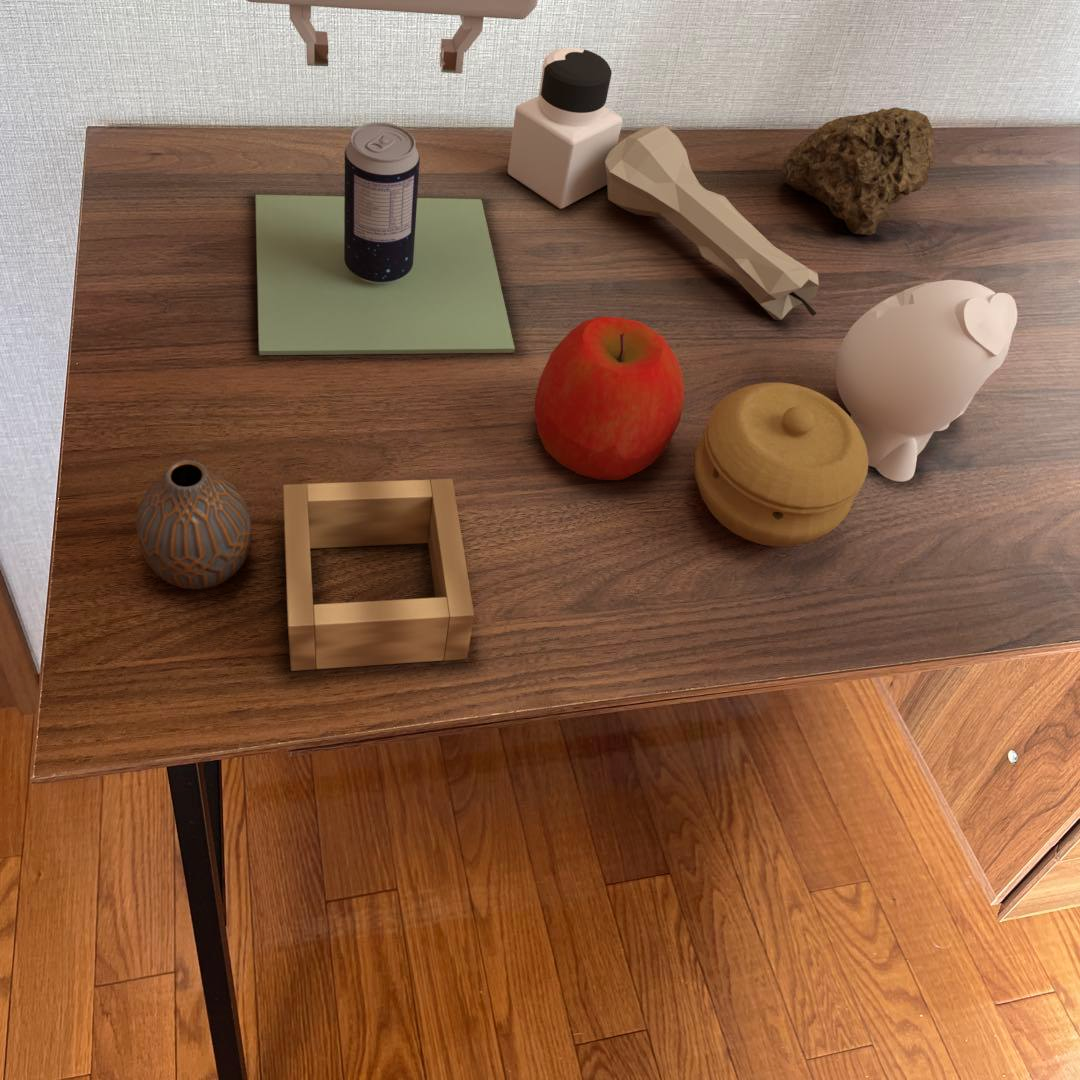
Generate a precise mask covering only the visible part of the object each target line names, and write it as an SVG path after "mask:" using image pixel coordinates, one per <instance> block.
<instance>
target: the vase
mask: <svg viewBox="0 0 1080 1080" xmlns="http://www.w3.org/2000/svg"><path fill="white" fill-rule="evenodd" d="M250 513H251V512H250V510H249V507H248V504H247V503H246V501H245V499H244V497H243V495H242V494H241V492H240V491H239V489H237V487H236V486H235V485H234V484H233V483H232V481H230V480H229V479H228V478H226V477H225V476H223V475H221V474H220V473H218V472H216V471H213V470H211V469H208V468H207V467H206V466H205V465H203V464H202V463H201V462H198V461H196V460H193V459H183V460H178V461H176V462H174V463H172V464H171V465H169V467H168V468H167V469H166V471H165V473H164V474H163V475H162V476H161V477H159V478H157V479H156V480H155V481H154V482H153V483H152V484H151V485H150V486H149V487H148V489H147V490H146V492H145V493H144V495H143V496H142V499H141V501H140V504H139V507H138V510H137V516H136V521H135V522H136V524H135V525H136V527H135V529H136V530H135V531H136V539H137V542H138V545H139V548H140V551H141V553H142V556H143V558H144V560H145V561H146V562H147V564H148V566H149V567H150V568H151V570H152V571H153V572H154V573H155V574H156V575H157V576H158V577H160V578H161V579H163V580H164V581H165V582H167V583H169V584H170V585H172V586H175V587H179V588H183V589H188V590H203V589H209V588H213V587H215V586H218V585H220V584H222V583H224V582H226V581H227V580H228V579H230V578H232V577H233V576H234V575H235V574H236V573H237V572H238V571H239V570H240V568H241V567H242V566H243V564H244V562H245V560H246V559H247V556H248V554H249V551H250V547H251V543H252V532H253V531H252V530H253V527H252V519H251V518H252V517H251V514H250Z"/></svg>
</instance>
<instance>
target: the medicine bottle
mask: <svg viewBox="0 0 1080 1080" xmlns="http://www.w3.org/2000/svg"><path fill="white" fill-rule="evenodd" d="M540 76H541V77H540V84H539V91H538V96H535V97H534V98H530V99H529V100H527V101H523V102H522V103H520V104H518V105H516V107H515V111H514V118H513V119H514V120H513V127H512V129H513V130H512V133H511V141H510V142H511V143H510V149H509V158H508V165H507V174H508V175H509V176H510V177H512V178H513V179H514V180H515V181H518V182H519V183H520V184H522V185H523V186H525V187H526V188H528V189H530V190H531V191H533V192H534V193H535V194H536V195H538V196H540V197H541V198H543V199H545V200H546V201H548V202H549V203H550V204H552V205H553V206H554V207H556V208H558V209H559V210H561V209H565V208H566V207H568V206H570V205H573V204H574V203H576V202H578V201H579V200H581V199H584V198H585V197H587V196H589V195H591V194H593V193H594V192H596V191H598V190H600V189H602V188H604V187H606V186H608V184H607V172H606V166H605V161H606V158H607V156H608V154H609V152H610V151H611V150H612V149H613V148H614V147H615V146H616V145H617V144H618V143H619V138H620V134H621V129H622V125H623V117H622V116H621V115H619V114H617V113H616V112H615V111H612V109H610V108H608V107H606V104H607V98H608V93H609V88H610V85H611V84H610V83H611V78H612V68H611V67H610V65H609V63H608V62H607V60H606V59H605V58H603V57H602V56H600V55H599V54H598V53H595V52H593V51H590V50H587V49H585V48H580V47H562V48H557V49H555V50H553V51H551V52H549V53H548V54H547V55H546V56H545V57H544V59H543V64H542V70H541V75H540Z"/></svg>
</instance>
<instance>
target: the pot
mask: <svg viewBox="0 0 1080 1080" xmlns="http://www.w3.org/2000/svg"><path fill="white" fill-rule="evenodd" d="M703 433H704V434H703V436H702V437H701V438H700V440H699V442H698V443H697V446H696V450H695V453H694V456H693V469H694V479H695V481H696V484H697V485H696V486H697V488H698V490H699V493H700V496H701V498H702V500H703V502H704V503H705V505H706V507H707V509H708V510H709V512H710V513H711V515H712V516H713V517H714V518H715V519H716V520H717V521H718V522H719V523H720V524H721V525H722V526H724V527H725V528H726V529H727V530H729V531H731V533H733V534H734V535H737V536H739V537H741V538H743V539H745V540H747V541H750V542H753V543H756V544H759V545H763V546H770V547H791V546H797V545H800V544H805V543H809V542H812V541H815V540H817V539H819V538H821V537H823V536H825V535H827V534H828V533H830V532H832V531H834V530H835V529H836V528H837V527H838V526H839V525H840V524H841V523H842V522H843V521H844V520H845V519H846V518H847V516H848V514H849V512H850V510H851V508H852V506H853V503H854V502H853V501H854V498H855V497H856V496H857V495H858V494H859V493H860V491H861V488H862V486H863V485H864V482H865V480H866V477H867V475H868V472H869V465H868V463H869V460H868V454H867V448H866V444H865V442H864V440H863V438H862V435H861V433H860V431H859V429H858V427H857V426H856V424H855V423H854V422H853V420H852V419H851V418H850V415H849V414H848V413H847V412H846V411H845V410H844V409H843V408H842V407H841V406H840V405H839V404H837V403H836V402H834V401H833V400H832V399H830V398H828V397H827V396H826V395H824V394H822V393H820V392H818V391H816V390H813V389H812V388H809V387H806V386H801V385H798V384H795V383H787V382H782V381H781V382H780V381H779V382H777V381H775V382H760V383H755V384H750V385H747V386H744V387H741V388H739V389H737V390H735V391H733V392H730V393H729V394H727V395H726V396H725V397H723V399H721V400H720V401H719V402H717V404H716V406H715V407H714V408H713V410H712V411H711V412H710V414H709V417H708V419H707V421H706V425H705V427H704V432H703Z"/></svg>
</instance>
